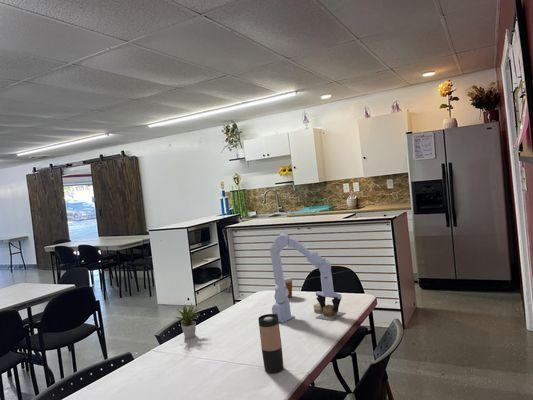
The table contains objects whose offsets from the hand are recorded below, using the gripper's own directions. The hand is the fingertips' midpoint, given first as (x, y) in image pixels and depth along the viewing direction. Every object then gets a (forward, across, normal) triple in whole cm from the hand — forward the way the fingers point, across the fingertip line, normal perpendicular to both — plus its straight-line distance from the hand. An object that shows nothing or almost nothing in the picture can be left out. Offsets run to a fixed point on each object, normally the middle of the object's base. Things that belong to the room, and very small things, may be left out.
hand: (330, 311), depth 200 cm
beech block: (+2, +9, -3) cm, 10 cm away
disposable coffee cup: (+3, +44, -17) cm, 47 cm away
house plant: (+3, +46, +54) cm, 71 cm away
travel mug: (+3, -14, +58) cm, 60 cm away
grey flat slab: (+2, 0, 0) cm, 2 cm away
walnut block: (+2, 0, 0) cm, 2 cm away
